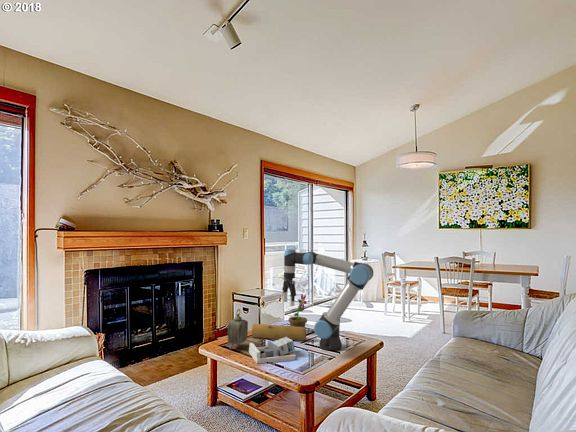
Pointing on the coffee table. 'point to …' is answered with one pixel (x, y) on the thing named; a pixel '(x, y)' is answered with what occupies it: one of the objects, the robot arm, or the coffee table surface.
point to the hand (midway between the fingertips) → (288, 303)
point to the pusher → (271, 350)
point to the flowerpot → (298, 320)
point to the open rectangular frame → (256, 356)
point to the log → (278, 332)
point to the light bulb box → (284, 346)
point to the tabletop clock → (237, 331)
